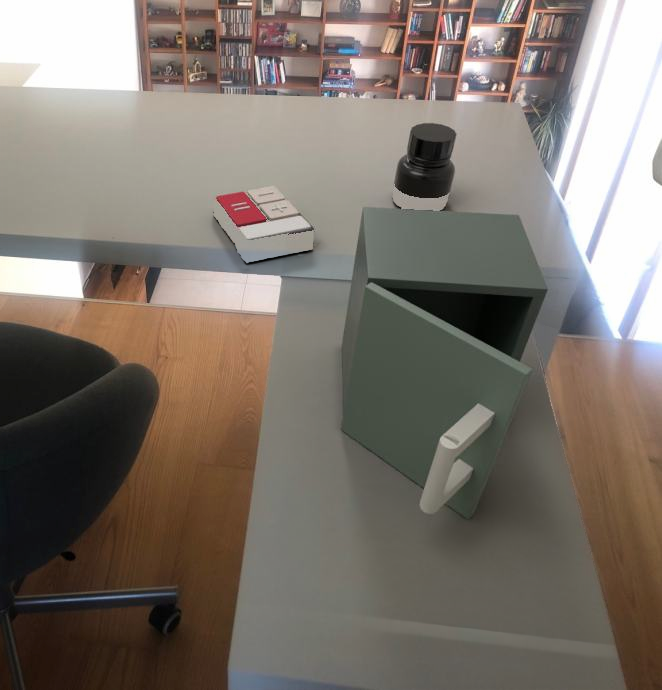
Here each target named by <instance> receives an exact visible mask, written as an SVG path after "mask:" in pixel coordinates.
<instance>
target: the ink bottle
mask: <svg viewBox="0 0 662 690" xmlns="http://www.w3.org/2000/svg"><path fill="white" fill-rule="evenodd" d="M456 138H457V132H456V131H455V129H453V128H451V127H450V126H448V125H445V124H442V123H435V122H423V123H419V124H418V123H417V124H416V125H414V126H412V127H411V129H410V131H409V137H408V142H407V143H408V144H407V149H406V154H404V155H403V156H401V157H400V159H399V160H398V162H397V165H396V170H395V176H394V181H393V185H394V184H395V187H396V188H397V189H398V190H399V191H401V192H402V193H404V194H407V195H409V196H414V197H419V198H439V197H442V196H445V195H447V194H448V193H449V192H450V193H451V189H452V185H453V182H454V177H455V174H456V173H455V172H456V167H455V164H454V162H453V161H452V159H451V158H452V155H453V151H454V149H455V143H456Z"/></svg>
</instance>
